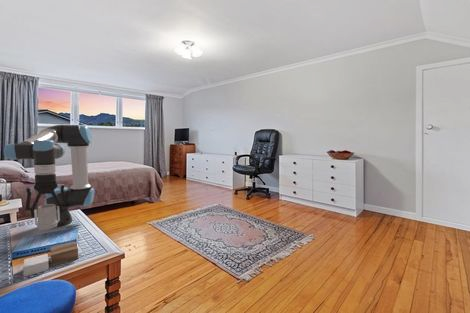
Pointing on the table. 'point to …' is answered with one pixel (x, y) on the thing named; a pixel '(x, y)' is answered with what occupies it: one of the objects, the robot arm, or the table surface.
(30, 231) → the table surface
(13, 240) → the table surface
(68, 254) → the walnut block
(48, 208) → the mug
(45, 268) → the grey block
